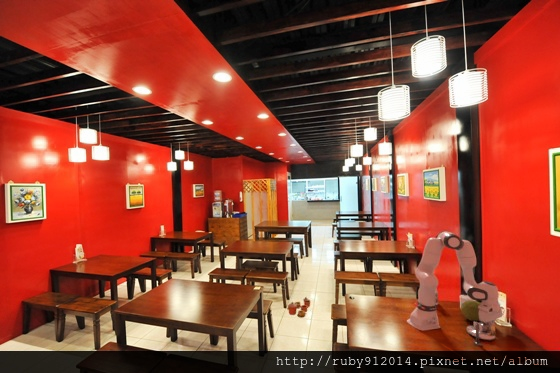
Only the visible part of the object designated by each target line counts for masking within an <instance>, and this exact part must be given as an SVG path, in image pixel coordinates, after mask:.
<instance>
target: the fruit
mask: <svg viewBox="0 0 560 373" xmlns="http://www.w3.org/2000/svg"><path fill="white" fill-rule="evenodd" d="M480 304H481V302H479V301H478V300H476V301H472V300H471V301H470V300H469V301H465V302H464V303H462V304H461V308H460V312H461V313H462V315H463V316H464V317H465V318H466V319H467V320H469V321H471V322H474V321H475V322H478V321H480V319H479V310H480V309H478V306H479V305H480Z"/></svg>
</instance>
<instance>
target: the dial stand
mask: <svg viewBox="0 0 560 373" xmlns="http://www.w3.org/2000/svg"><path fill="white" fill-rule="evenodd" d="M473 326H474V329H476V337H475V340H473V344H474V345H476V346H478V347H481V346H483V345H482V342H481V341H480V339H479V331H481V332H482V324H480V323H479V322H478V321H473Z"/></svg>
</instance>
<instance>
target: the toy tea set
mask: <svg viewBox="0 0 560 373" xmlns="http://www.w3.org/2000/svg"><path fill="white" fill-rule="evenodd" d="M302 301H303V304H302V305H301V301H295V302H293V301H292V302H290V303H289V304H288V305H287V308H286V310H287V311H288V314H289V315H291V316H295V315H296V316H297V317H298V318H301V319H302V318H305V317H306V315H307V313H308V309H309V308H310V306H311V300H310V299H309V298H307V296H305V297H304V298H303V299H302ZM297 309H300V310H297Z"/></svg>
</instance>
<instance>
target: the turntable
mask: <svg viewBox="0 0 560 373" xmlns="http://www.w3.org/2000/svg"><path fill="white" fill-rule="evenodd" d="M466 332H467V333H468V334H469V335H471V336H472V337H474V338H476V329H474V325H468V326H467V327H466ZM479 340H484V341H493V340H496V326H495V324H494V325H492V324H491V325H490V332H489V333H486V332H483V331H482V332H481V331H479Z"/></svg>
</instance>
